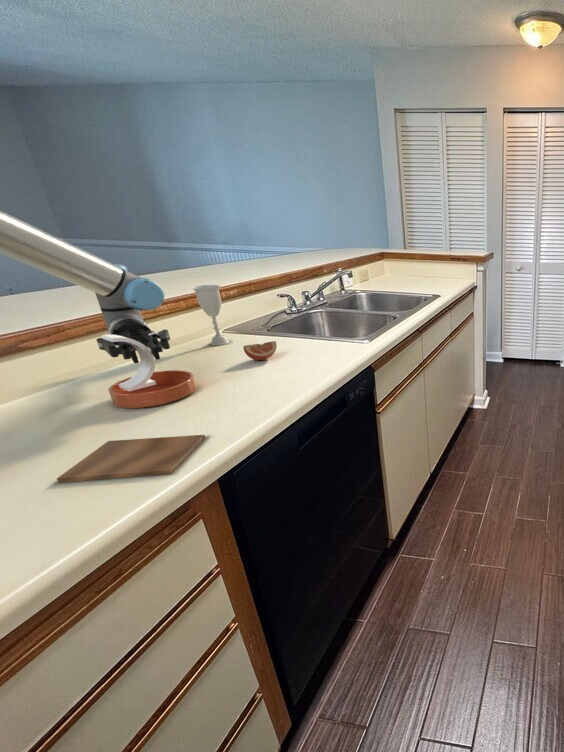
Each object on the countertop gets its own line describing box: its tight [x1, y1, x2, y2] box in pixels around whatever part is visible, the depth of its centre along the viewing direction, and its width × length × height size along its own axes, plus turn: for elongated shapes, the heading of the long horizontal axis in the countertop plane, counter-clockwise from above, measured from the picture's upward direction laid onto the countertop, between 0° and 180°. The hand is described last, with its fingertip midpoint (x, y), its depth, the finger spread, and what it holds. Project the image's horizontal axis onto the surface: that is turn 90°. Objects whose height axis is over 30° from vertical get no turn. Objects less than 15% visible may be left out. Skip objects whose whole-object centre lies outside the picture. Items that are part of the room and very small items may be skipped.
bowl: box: [107, 369, 198, 409], centre depth 97 cm, size 15×15×4 cm
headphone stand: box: [101, 334, 156, 391], centre depth 93 cm, size 5×6×12 cm
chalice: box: [192, 284, 230, 346], centre depth 133 cm, size 7×7×18 cm
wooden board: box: [56, 434, 206, 484], centre depth 74 cm, size 16×12×1 cm
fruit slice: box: [243, 340, 278, 361], centre depth 121 cm, size 8×7×5 cm
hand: (145, 355), depth 90 cm, fingers closed on headphone stand, 3 cm apart
